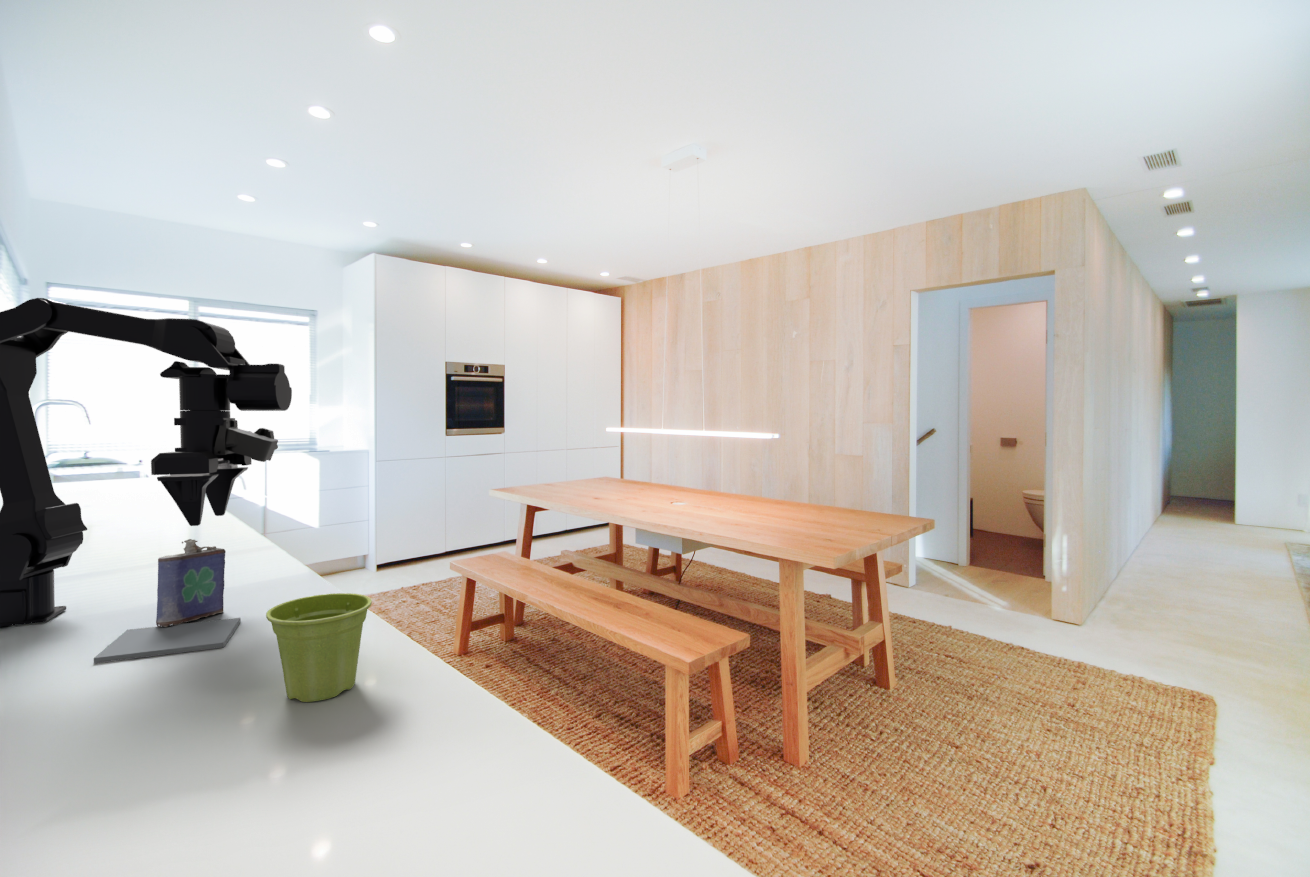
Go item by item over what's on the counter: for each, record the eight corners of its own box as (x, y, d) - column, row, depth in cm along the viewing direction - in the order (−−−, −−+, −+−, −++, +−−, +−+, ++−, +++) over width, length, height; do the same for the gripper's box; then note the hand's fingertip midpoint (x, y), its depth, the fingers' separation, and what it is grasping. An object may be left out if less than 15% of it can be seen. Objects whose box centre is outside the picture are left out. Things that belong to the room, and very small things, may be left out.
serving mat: (127, 634, 76) (127, 629, 76) (240, 622, 81) (240, 617, 81) (93, 663, 67) (93, 658, 67) (223, 647, 72) (223, 642, 72)
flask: (167, 627, 76) (168, 543, 77) (147, 627, 77) (149, 543, 77) (229, 611, 85) (230, 535, 86) (211, 610, 86) (212, 535, 86)
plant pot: (260, 720, 55) (260, 626, 54) (271, 680, 63) (271, 599, 63) (373, 699, 59) (373, 612, 59) (369, 665, 67) (370, 588, 67)
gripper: (251, 409, 78) (253, 527, 79) (287, 412, 96) (289, 508, 96) (147, 409, 75) (150, 533, 75) (205, 412, 92) (207, 512, 93)
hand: (208, 520), depth 85 cm, fingers open, 9 cm apart
